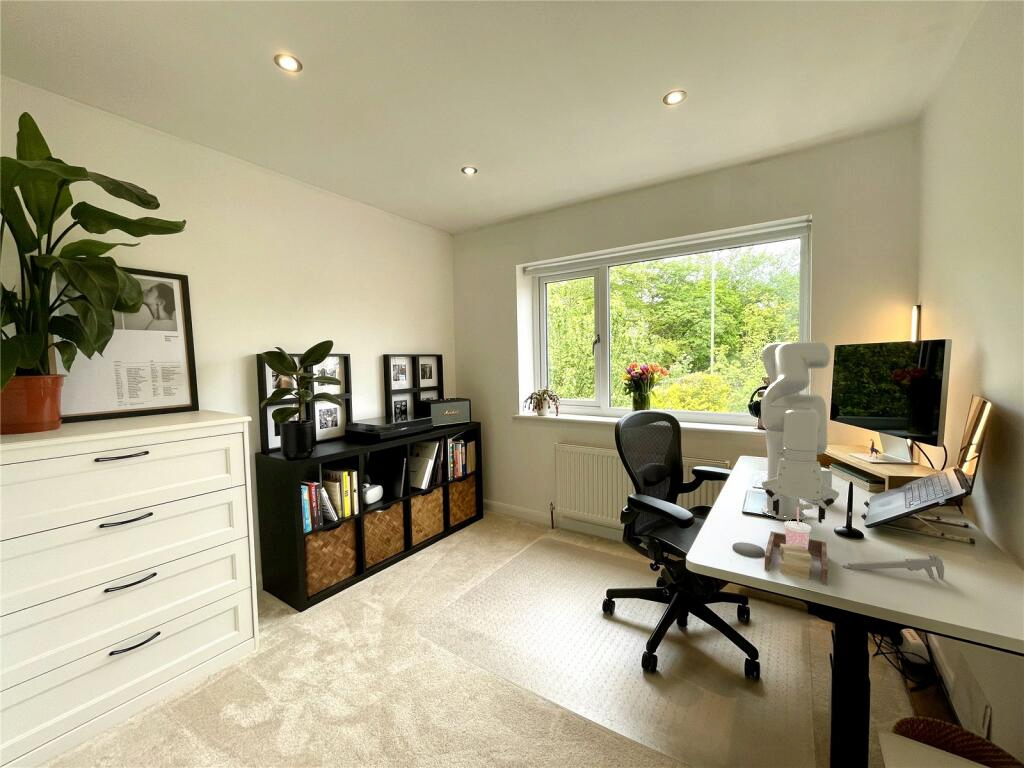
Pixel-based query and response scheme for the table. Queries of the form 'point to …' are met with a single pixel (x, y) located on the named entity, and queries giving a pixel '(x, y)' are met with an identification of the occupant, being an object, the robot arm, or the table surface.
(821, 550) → the rack
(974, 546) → the table surface
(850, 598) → the table surface
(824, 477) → the supplement box
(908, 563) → the caliper
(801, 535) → the beverage cup
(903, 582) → the table surface
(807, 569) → the offcut lower
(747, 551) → the coaster
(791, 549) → the offcut upper
